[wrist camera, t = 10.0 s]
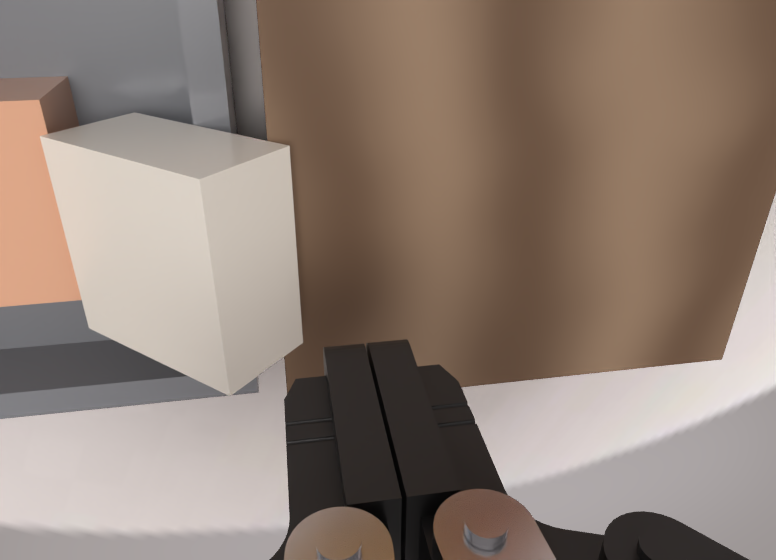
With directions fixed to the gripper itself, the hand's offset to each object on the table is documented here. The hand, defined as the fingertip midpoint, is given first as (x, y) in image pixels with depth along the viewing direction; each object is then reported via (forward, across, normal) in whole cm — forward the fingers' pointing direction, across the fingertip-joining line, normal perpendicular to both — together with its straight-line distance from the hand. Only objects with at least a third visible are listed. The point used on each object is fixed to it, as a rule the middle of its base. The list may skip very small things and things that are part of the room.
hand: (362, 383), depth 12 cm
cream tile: (+9, +3, +1) cm, 9 cm away
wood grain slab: (+13, -6, 0) cm, 14 cm away
